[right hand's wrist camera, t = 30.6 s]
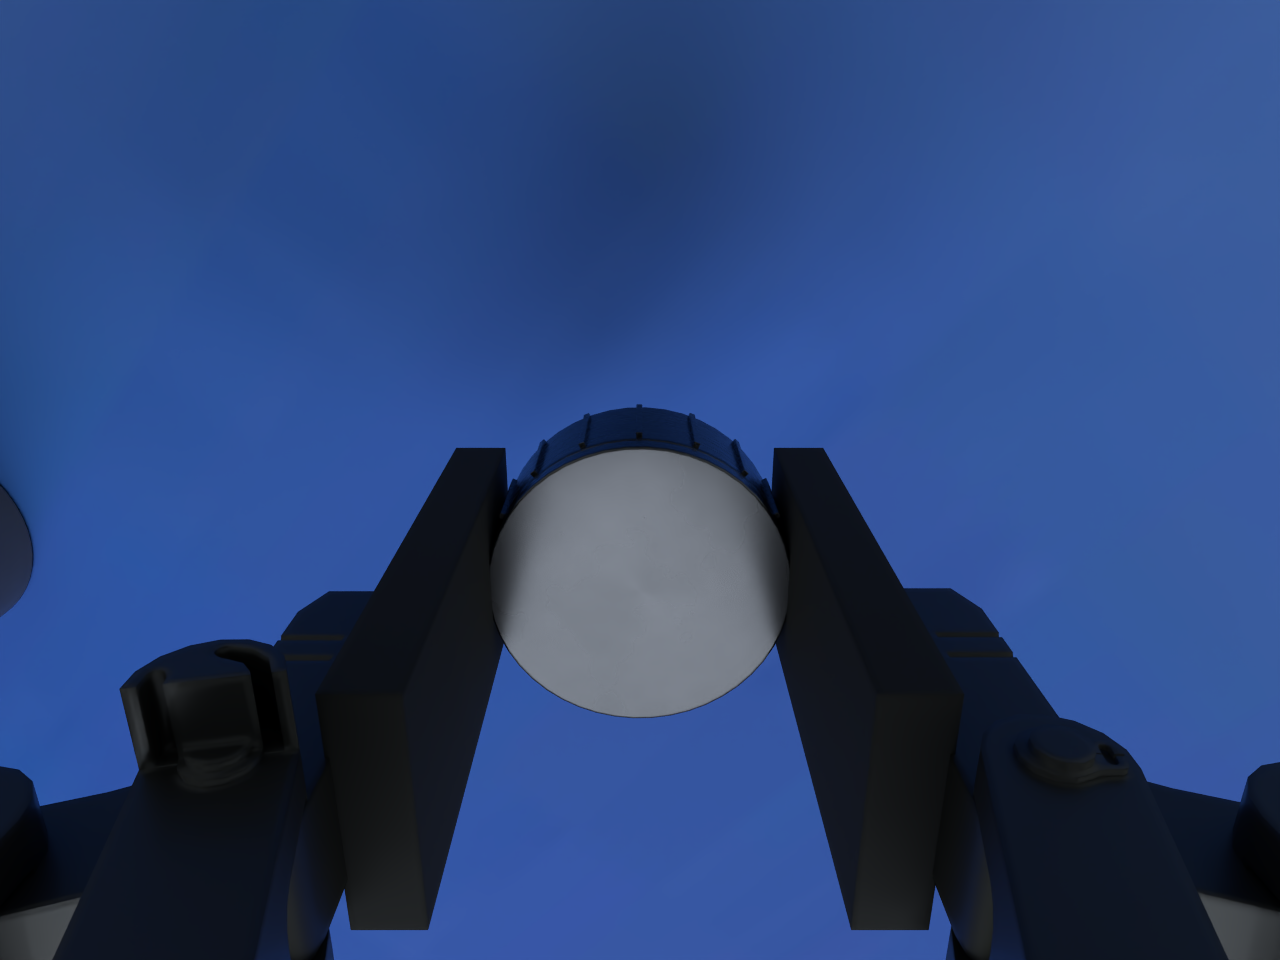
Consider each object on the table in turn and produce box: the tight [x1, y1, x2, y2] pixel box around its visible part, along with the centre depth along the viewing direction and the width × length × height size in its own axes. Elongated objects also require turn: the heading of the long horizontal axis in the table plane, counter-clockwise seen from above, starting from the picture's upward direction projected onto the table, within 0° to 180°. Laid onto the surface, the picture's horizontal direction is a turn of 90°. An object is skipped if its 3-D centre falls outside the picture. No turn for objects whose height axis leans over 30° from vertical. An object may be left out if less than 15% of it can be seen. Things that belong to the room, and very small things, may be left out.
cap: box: [489, 404, 790, 718], centre depth 13 cm, size 4×4×2 cm
